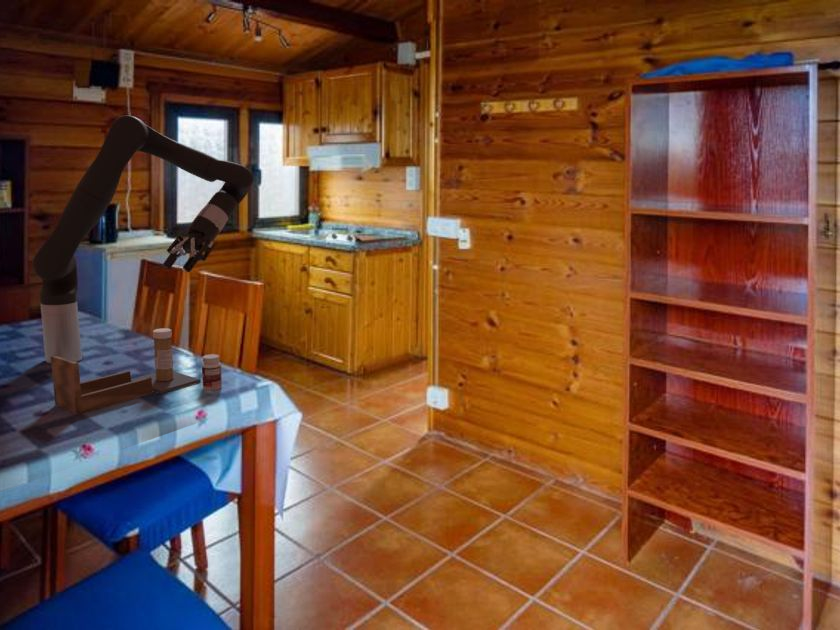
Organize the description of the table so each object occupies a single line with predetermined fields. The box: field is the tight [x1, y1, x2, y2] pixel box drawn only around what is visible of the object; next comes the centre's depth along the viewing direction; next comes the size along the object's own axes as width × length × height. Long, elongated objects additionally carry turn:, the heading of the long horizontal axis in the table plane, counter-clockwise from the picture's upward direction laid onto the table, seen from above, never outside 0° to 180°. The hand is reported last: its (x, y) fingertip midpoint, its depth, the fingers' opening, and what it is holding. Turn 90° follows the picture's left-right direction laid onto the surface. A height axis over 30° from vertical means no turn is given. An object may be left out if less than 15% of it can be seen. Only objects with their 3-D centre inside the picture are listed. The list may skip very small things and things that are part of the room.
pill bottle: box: [201, 353, 223, 391], centre depth 172 cm, size 5×5×8 cm
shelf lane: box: [50, 355, 153, 415], centre depth 162 cm, size 10×19×12 cm, turn 146°
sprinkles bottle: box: [152, 327, 174, 381], centre depth 175 cm, size 5×5×13 cm
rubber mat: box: [131, 370, 202, 394], centre depth 176 cm, size 14×12×1 cm
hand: (175, 268), depth 181 cm, fingers open, 8 cm apart
